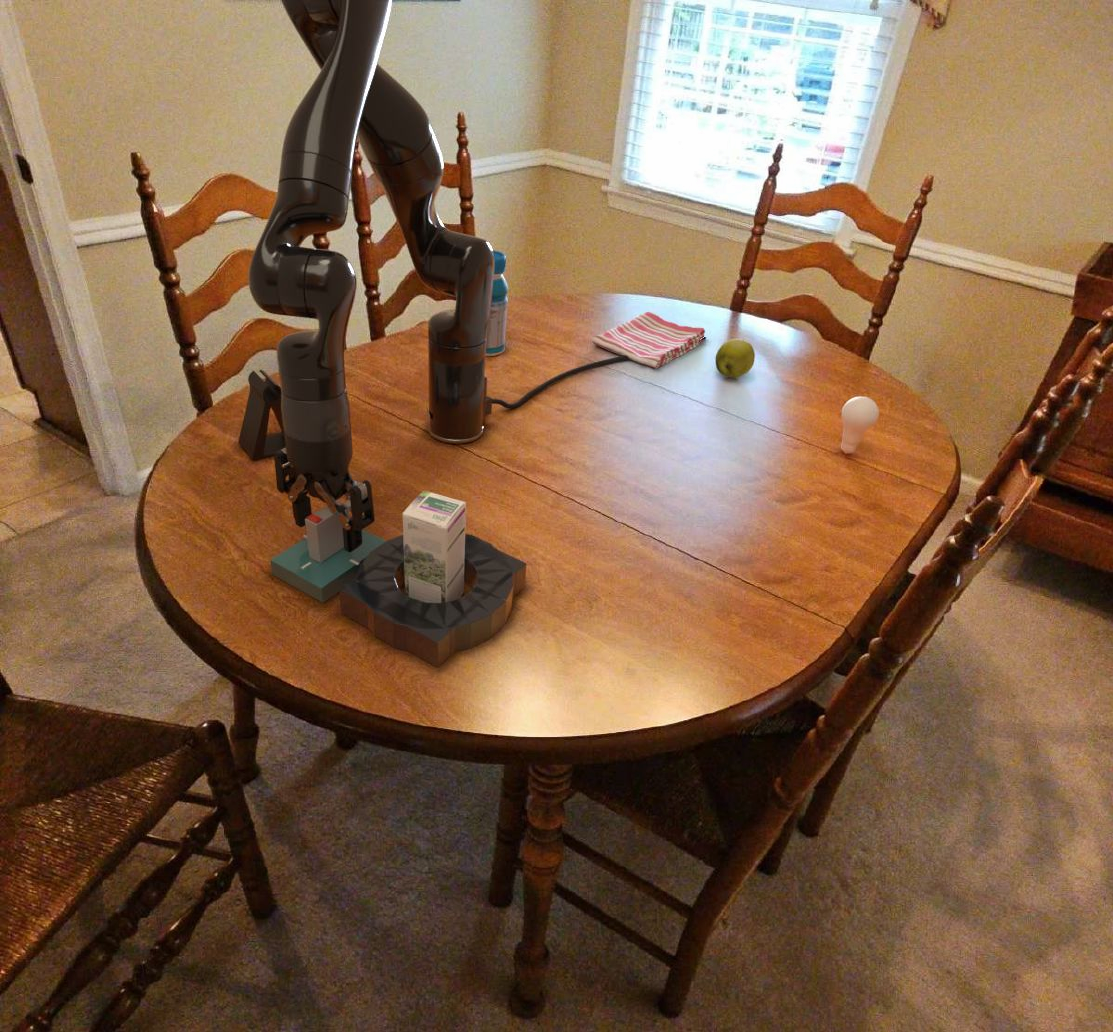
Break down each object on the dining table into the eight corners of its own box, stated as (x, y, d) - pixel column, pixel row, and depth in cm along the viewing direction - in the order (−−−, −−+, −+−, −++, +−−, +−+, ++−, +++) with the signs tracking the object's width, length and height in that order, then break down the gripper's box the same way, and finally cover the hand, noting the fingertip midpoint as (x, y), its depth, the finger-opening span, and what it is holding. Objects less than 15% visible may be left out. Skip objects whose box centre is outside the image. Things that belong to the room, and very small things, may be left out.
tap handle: (340, 537, 102) (337, 498, 98) (351, 542, 101) (348, 503, 98) (309, 557, 98) (304, 517, 94) (320, 563, 97) (316, 523, 94)
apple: (755, 374, 165) (764, 339, 160) (740, 388, 158) (749, 352, 154) (721, 364, 168) (730, 329, 163) (705, 377, 161) (713, 341, 157)
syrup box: (465, 592, 99) (468, 499, 91) (445, 621, 94) (446, 525, 86) (425, 580, 100) (424, 487, 92) (403, 607, 96) (400, 512, 87)
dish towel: (705, 342, 178) (708, 327, 176) (655, 371, 161) (657, 355, 159) (642, 320, 185) (645, 306, 183) (588, 346, 169) (590, 331, 167)
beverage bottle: (503, 359, 159) (509, 262, 148) (463, 355, 159) (465, 258, 148) (506, 343, 166) (511, 250, 155) (467, 340, 166) (469, 246, 155)
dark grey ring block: (426, 536, 108) (426, 513, 106) (539, 591, 101) (542, 567, 98) (326, 609, 94) (323, 584, 92) (448, 678, 87) (449, 653, 84)
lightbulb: (865, 450, 141) (885, 396, 135) (861, 465, 136) (882, 409, 130) (831, 441, 143) (849, 387, 136) (826, 455, 138) (845, 400, 132)
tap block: (338, 530, 107) (337, 514, 106) (391, 557, 103) (390, 541, 102) (270, 573, 99) (267, 557, 97) (325, 604, 95) (323, 588, 93)
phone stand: (252, 461, 120) (241, 391, 113) (238, 444, 123) (227, 375, 116) (307, 447, 124) (300, 379, 118) (293, 431, 128) (285, 364, 121)
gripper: (386, 431, 89) (390, 543, 98) (298, 394, 94) (310, 503, 104) (338, 456, 83) (347, 572, 93) (248, 415, 89) (265, 528, 98)
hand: (327, 535), depth 98 cm, fingers open, 8 cm apart
